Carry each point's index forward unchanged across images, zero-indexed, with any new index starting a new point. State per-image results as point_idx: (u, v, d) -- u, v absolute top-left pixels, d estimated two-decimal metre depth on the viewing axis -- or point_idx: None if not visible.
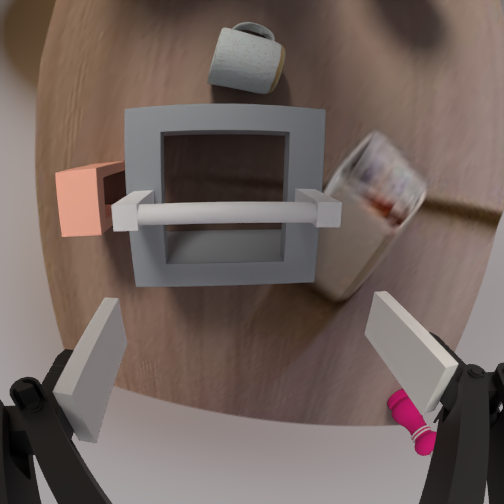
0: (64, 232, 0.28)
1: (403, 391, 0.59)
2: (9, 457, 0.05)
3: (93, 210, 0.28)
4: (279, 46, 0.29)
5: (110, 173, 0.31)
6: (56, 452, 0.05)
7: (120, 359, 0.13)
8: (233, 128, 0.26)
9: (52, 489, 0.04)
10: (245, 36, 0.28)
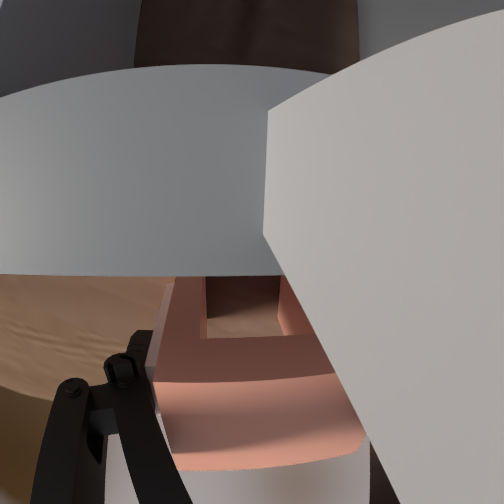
0: (348, 449, 0.09)
1: None
2: (84, 442, 0.06)
3: (312, 391, 0.08)
4: None
5: (197, 299, 0.11)
6: (141, 428, 0.07)
7: None
8: None
9: (128, 463, 0.06)
10: None
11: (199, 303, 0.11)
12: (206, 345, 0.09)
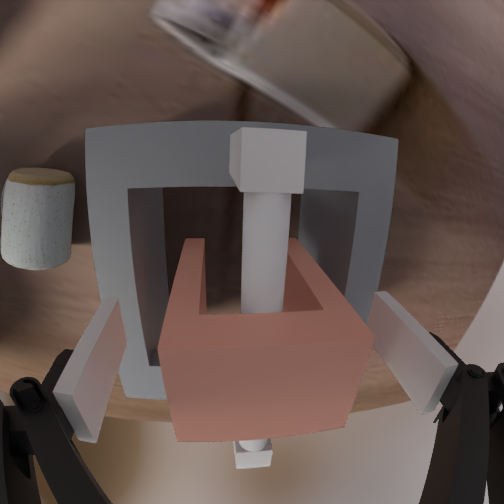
0: (336, 424, 0.11)
1: None
2: (8, 457, 0.05)
3: (298, 360, 0.09)
4: (7, 181, 0.19)
5: (197, 283, 0.13)
6: (56, 452, 0.05)
7: (120, 359, 0.13)
8: (132, 278, 0.17)
9: (52, 489, 0.04)
10: (2, 228, 0.20)
11: (199, 286, 0.13)
12: (204, 320, 0.10)
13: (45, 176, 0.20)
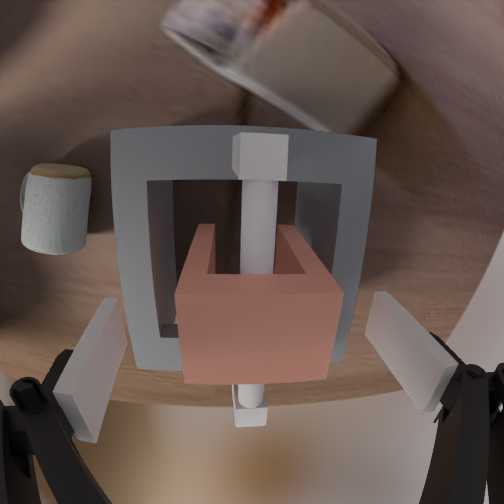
0: (318, 374, 0.14)
1: None
2: (8, 457, 0.05)
3: (281, 307, 0.12)
4: (29, 175, 0.22)
5: (207, 254, 0.16)
6: (56, 452, 0.05)
7: (120, 359, 0.13)
8: (149, 257, 0.20)
9: (52, 489, 0.04)
10: (24, 217, 0.23)
11: (208, 256, 0.16)
12: (211, 277, 0.14)
13: (66, 170, 0.23)
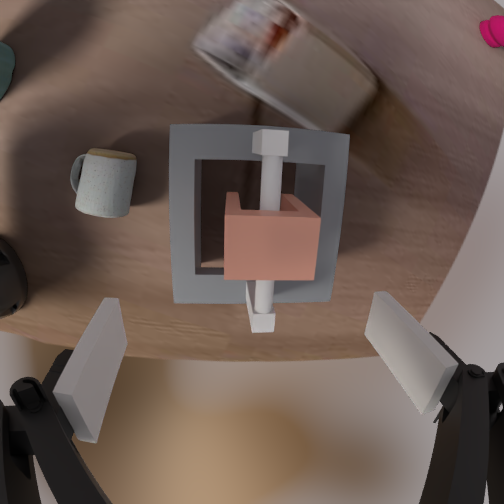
0: (308, 275, 0.23)
1: (482, 28, 0.33)
2: (9, 457, 0.05)
3: (285, 225, 0.22)
4: (88, 155, 0.32)
5: (238, 203, 0.26)
6: (56, 452, 0.05)
7: (120, 359, 0.13)
8: (192, 212, 0.30)
9: (52, 489, 0.04)
10: (81, 188, 0.33)
11: (239, 204, 0.26)
12: (243, 210, 0.23)
13: (119, 153, 0.33)
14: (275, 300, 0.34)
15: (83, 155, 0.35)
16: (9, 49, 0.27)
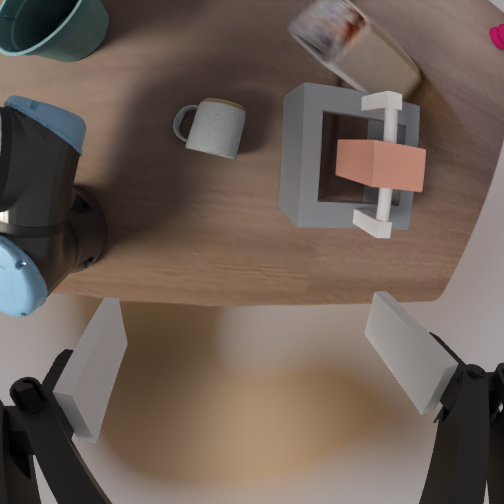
0: (419, 188, 0.30)
1: (492, 33, 0.40)
2: (8, 457, 0.05)
3: (407, 151, 0.29)
4: (206, 102, 0.38)
5: None
6: (56, 452, 0.05)
7: (120, 359, 0.13)
8: (320, 150, 0.36)
9: (52, 489, 0.04)
10: (199, 129, 0.39)
11: None
12: None
13: None
14: None
15: (190, 106, 0.41)
16: (104, 8, 0.33)
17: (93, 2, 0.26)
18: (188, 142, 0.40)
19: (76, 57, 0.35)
